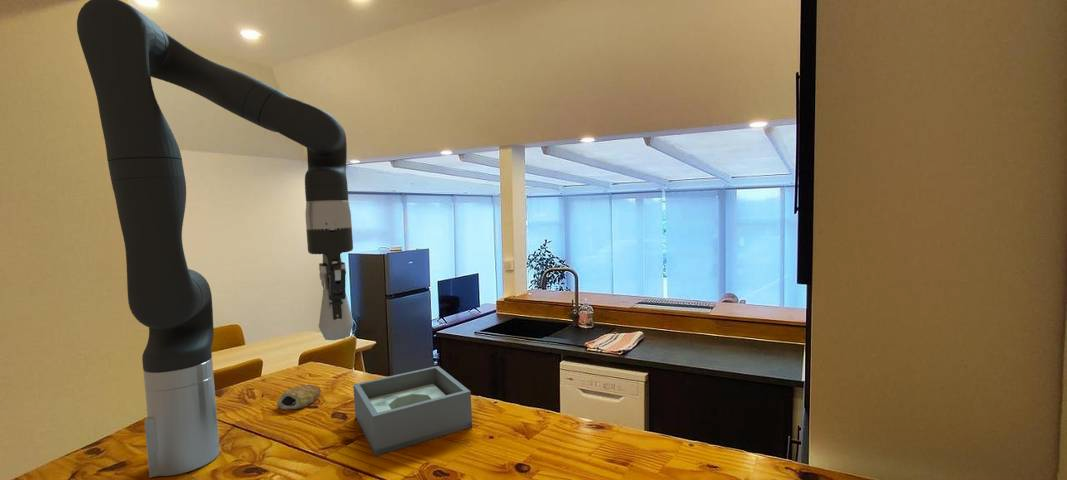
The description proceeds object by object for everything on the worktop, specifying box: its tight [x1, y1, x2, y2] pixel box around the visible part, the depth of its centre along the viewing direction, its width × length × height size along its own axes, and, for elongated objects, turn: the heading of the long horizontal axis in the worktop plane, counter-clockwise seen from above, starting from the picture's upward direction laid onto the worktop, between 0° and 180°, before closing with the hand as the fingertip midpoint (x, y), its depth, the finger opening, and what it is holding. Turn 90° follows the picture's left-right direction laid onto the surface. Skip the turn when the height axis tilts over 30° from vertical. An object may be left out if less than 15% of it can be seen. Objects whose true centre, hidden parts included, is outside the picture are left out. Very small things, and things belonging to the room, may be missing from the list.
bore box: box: [352, 365, 473, 457], centre depth 90 cm, size 18×18×7 cm
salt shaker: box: [318, 270, 354, 341], centre depth 83 cm, size 6×6×13 cm
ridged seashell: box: [276, 384, 321, 410], centre depth 102 cm, size 9×7×4 cm
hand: (335, 320), depth 83 cm, fingers closed on salt shaker, 3 cm apart
